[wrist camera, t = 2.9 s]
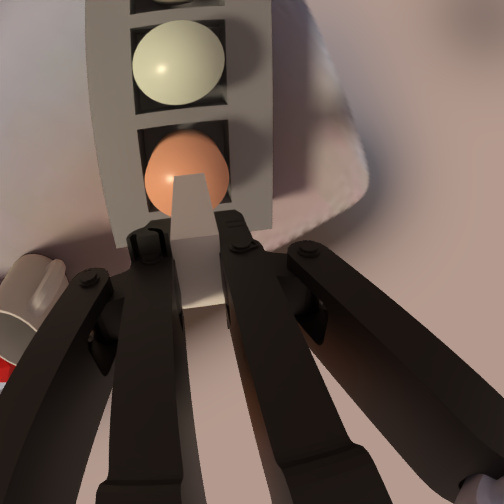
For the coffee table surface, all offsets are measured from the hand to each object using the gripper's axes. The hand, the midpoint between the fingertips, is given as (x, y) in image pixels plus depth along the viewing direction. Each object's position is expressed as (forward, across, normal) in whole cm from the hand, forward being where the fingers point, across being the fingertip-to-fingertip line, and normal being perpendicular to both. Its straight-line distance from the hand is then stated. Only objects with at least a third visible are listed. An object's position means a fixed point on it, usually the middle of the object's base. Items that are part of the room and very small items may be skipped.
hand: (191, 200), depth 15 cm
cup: (+11, -16, -10) cm, 22 cm away
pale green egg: (+7, 0, +7) cm, 10 cm away
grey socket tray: (+11, 0, +7) cm, 13 cm away
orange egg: (+7, 0, 0) cm, 7 cm away
